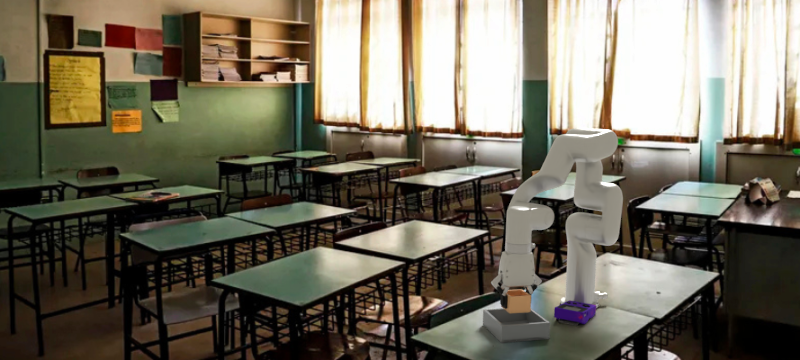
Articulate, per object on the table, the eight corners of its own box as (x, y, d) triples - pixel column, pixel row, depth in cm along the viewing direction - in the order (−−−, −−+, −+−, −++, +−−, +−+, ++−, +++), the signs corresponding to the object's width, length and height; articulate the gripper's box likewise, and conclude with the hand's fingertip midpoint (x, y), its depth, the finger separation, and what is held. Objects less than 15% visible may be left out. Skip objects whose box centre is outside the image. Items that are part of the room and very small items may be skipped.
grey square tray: (527, 321, 213) (528, 306, 212) (549, 338, 198) (549, 322, 198) (482, 325, 209) (483, 309, 208) (501, 343, 195) (502, 326, 194)
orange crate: (521, 305, 206) (522, 289, 206) (530, 312, 200) (531, 295, 199) (501, 306, 205) (501, 290, 204) (509, 313, 198) (510, 296, 198)
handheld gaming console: (597, 303, 221) (583, 311, 208) (595, 319, 221) (582, 327, 208) (569, 298, 226) (554, 305, 213) (567, 314, 226) (553, 322, 213)
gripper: (539, 244, 206) (536, 301, 208) (485, 246, 202) (483, 304, 204) (550, 250, 199) (547, 309, 201) (495, 252, 194) (493, 312, 197)
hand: (515, 306), depth 202 cm, fingers closed on orange crate, 6 cm apart
